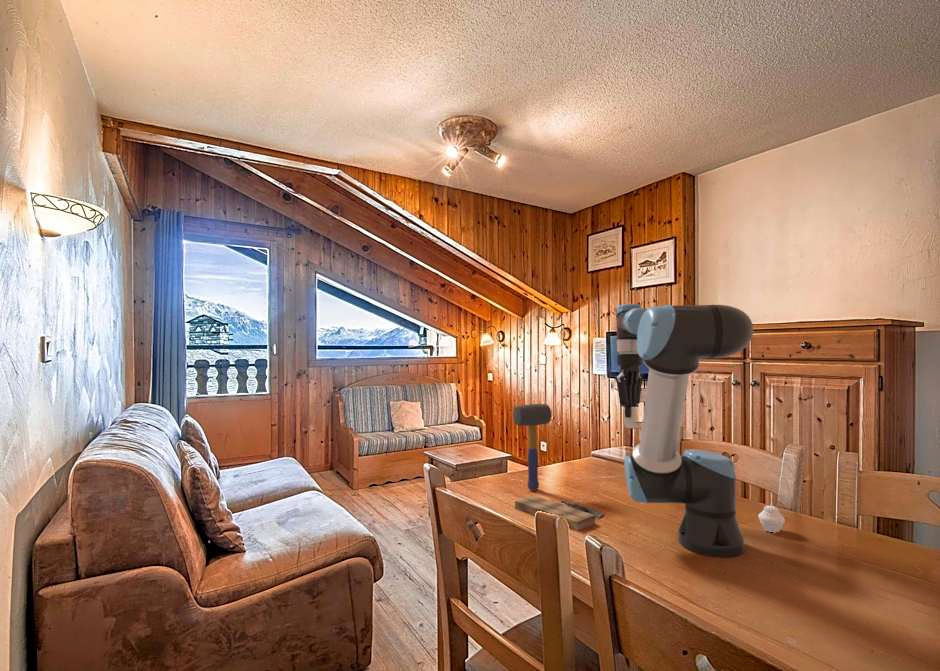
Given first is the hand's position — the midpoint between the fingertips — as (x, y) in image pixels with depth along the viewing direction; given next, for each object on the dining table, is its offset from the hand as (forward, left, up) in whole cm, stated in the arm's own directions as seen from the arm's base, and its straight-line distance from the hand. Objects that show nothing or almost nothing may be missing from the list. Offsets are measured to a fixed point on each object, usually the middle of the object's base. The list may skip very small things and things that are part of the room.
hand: (630, 427), depth 157 cm
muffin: (-37, -9, -25) cm, 45 cm away
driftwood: (+10, +17, -25) cm, 32 cm away
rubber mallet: (+31, +12, -25) cm, 41 cm away
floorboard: (+10, +26, -24) cm, 37 cm away
